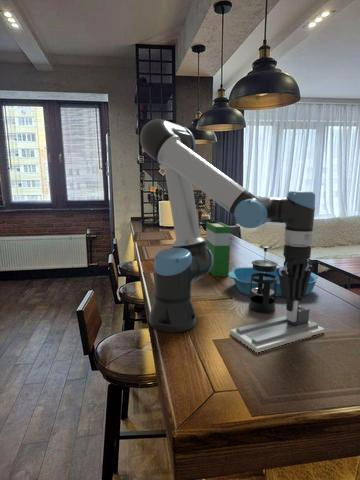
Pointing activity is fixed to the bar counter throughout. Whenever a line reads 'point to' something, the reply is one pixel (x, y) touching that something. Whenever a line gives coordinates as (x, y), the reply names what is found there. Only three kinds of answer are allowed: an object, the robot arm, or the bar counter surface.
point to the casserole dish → (244, 279)
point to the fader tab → (301, 316)
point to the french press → (263, 286)
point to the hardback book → (218, 247)
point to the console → (273, 333)
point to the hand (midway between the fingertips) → (291, 319)
